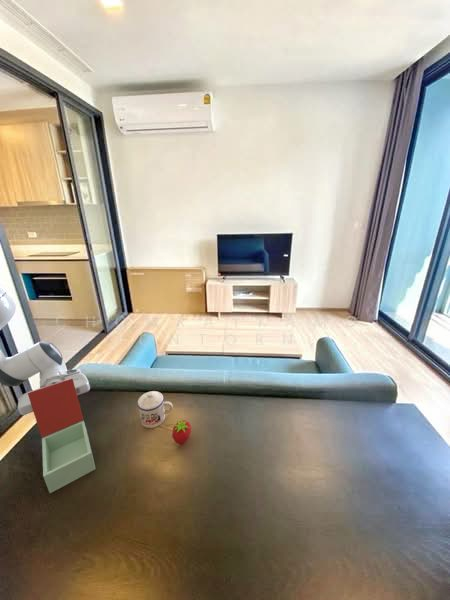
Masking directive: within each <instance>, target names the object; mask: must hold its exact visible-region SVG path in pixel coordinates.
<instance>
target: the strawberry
mask: <svg viewBox="0 0 450 600" xmlns="http://www.w3.org/2000/svg"><path fill="white" fill-rule="evenodd" d="M191 434H192V426H191V423H190V421H188V420H186V419H181V420H179V421H176V424H174V425H173V428H172V439H173V440H174V442H175V443H176V444H177V445H179V446H183V445H184V444H186V443H187V441H189V440H190V437H191Z"/></svg>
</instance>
